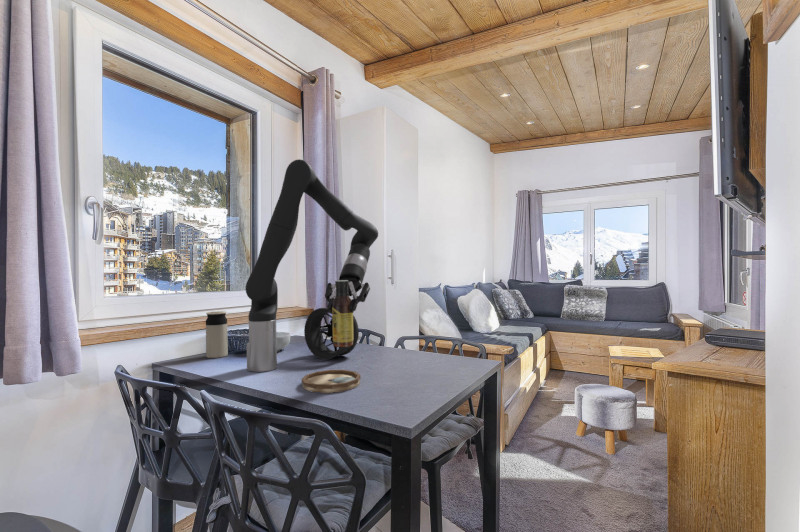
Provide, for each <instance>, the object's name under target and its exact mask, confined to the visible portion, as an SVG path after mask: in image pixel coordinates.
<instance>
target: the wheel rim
mask: <svg viewBox="0 0 800 532" xmlns="http://www.w3.org/2000/svg"><path fill="white" fill-rule="evenodd" d="M330 314H331V315H330ZM326 316H328V317H330V318H331V319H330V321H329V323H328V321H327V318H326ZM323 320H324V323H325V324H324V325H322V321H323ZM303 328H304V331H303V334H304V340H305V344H306V346H307V347H308V349H309V351H310V352H311V354H312V355H313V356H315V357H316V358H318V359H319V360H323V359H324V361H325V360H331V359H333V358H334V359H335V357H341V356H346V355H348V354H349V353H351V352H352V351H353V350H354V349H355V348H356V345H357V343H358V342H359V341H358V340H359V334H360V331H359V325H358V321H357V319H356V316H354V314H353V339H354V340H353V345H352V346H350V347H336V346H334V344H333V324H332V313H330V312H329V310H328V308H325V307H320V308H316V309H314V310H313V311H312V312H310V314H309V315H308V316H307V318H306V320H305V323H304V327H303ZM322 328H323V329H326V328H327V331H325V330H322ZM322 334H324V335H326V336H325V338H324V340H323V337H322ZM328 338H330V339H329V340H330V341H331V343H329V344H327V345H326V343H327V339H328ZM332 345H333V349H334V350H332V349H330V348H329V346H332ZM337 355H339V356H337Z"/></svg>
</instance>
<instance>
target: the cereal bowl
mask: <svg viewBox="0 0 800 532" xmlns="http://www.w3.org/2000/svg"><path fill="white" fill-rule="evenodd" d="M276 340H277V352H279V351H280V350H282V349H285V348H286V347H287V346H289V343H290V341H291V333H290V332H285V331H284V332H283V331H276Z"/></svg>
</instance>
